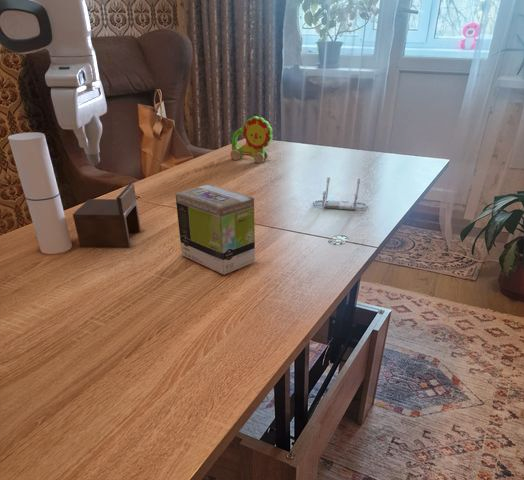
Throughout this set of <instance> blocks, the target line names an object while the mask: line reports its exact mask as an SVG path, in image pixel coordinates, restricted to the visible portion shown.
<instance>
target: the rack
mask: <svg viewBox="0 0 524 480" xmlns="http://www.w3.org/2000/svg"><path fill="white" fill-rule="evenodd" d="M137 202H138V201H137V195H136V190H135V184H134V182H131V183H128V185H126V186H125V188H124V189H123V190H122V191H121V192H120V193H119V195H117V197H116V198H115V199H114V198H113V199H112V198H88V199H87V200H86V201H85V202H84V203H83V204H82V205H81V206H80V207H79V208H78V209H77V210H76V211H74V213H73V214H72V219H73V222H74V226H75V231H76V234H77V238H78V243H79V246H80V248H121V249H122V248H123V249H124V248H126V249H127V248H129V249H130V247H131V246H132V245H131V240H130V233H140V232H141V231H142V227H141V222H140V215H139V207H138V203H137Z"/></svg>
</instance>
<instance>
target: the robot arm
mask: <svg viewBox="0 0 524 480" xmlns="http://www.w3.org/2000/svg"><path fill="white" fill-rule="evenodd" d="M91 25H92V24H91V20H90V14H89V11H88V6H87V1H86V0H0V45H1V46H2V47H3V48H4V49H6V50H8V51H9V52H13V53H15V54H20V55H28V54H35V53H45V52H48V53H49V58H50V63H49V64H50V65H49V67H48V70H47V71H46V72H45V74H44V79H45V80H44V81H45V84H46V86H47V87H51V89H50V97H51V102H52V106H53V110H54V114H55V117H56V120H57V123H58V125H59V126H60V128H61V129H62V130H72V131H73V133H74V135H75V137H76V139H77V141H78V145H79V148H81V149H84V148H87V147H88V146H89V145H90V143H89V138H87V136H86V133H85V125H86V124H87V123H89V122H90V121H91V118H92V116H93V115H96V116H97V117H98V119H99V120H100V117H102V116H103V115H105V114H107V113H108V106H107V105H108V104H107V99H106V95H105V92H104V91H105V90H104V87H103V83H102V81H101V78H100V72H99V71H100V70H99V66H98V60H97V55H96V54H97V53H96V51H95V48H94V46H93V42H92V26H91Z"/></svg>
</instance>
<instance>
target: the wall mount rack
mask: <svg viewBox="0 0 524 480" xmlns="http://www.w3.org/2000/svg"><path fill="white" fill-rule="evenodd" d="M330 181H331V178H330V177H329V176H328V177H326V188H325V190H324V191H323V192H322V199H320V200H315V201H313V202H312V205H313V206H315V207H319V208H320V207H321V208H325V209H337V210H352V211H353V210H364V209H367V208H368V204H367V203H365V202H362V201H361V202H359V201H358V198H359V197H358V196H359V189H360V184H361V178H357V180H356V192H355V193H354V201H351V200H331V199H329V200H328V194H329V185H330ZM319 203H322V204H319ZM357 205H362V206H357Z"/></svg>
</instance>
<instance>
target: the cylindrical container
mask: <svg viewBox="0 0 524 480" xmlns="http://www.w3.org/2000/svg"><path fill="white" fill-rule="evenodd" d="M7 139H8V142H9V146H10V149H11V153H12V157H13V160H14V162H15V167H16V170H17V173H18V174H17V175H18V177H19V181H20V183H21V187H22V191H23V194H24V197H25V202H26V205H27V209H28V211H29V215H30V217H31V218H30V219H31V222H32V224H33V229H34V232H35V235H36V236H35V237H36V240H37V243H38V247H39V249H40V252H41V253H43V254H47V255H57V254H62V253H65V252H68V251H69V250H71V249H72V247H73V243H72V239H71V234H70V231H69V228H68V223H67V218H66V215H65V211H64V206H63V203H62V199H61V195H60V191H59V188H58V187H59V186H58V182H57V180H56V179H57V178H56V174H55V170H54V167H53V163H52V159H51V155H50V150H49V145H48V143H47V138H46V135H45V133H43V132H36V131H35V132H34V131H33V132H32V131H31V132H20V133H13V134H11V135H8V136H7Z"/></svg>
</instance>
